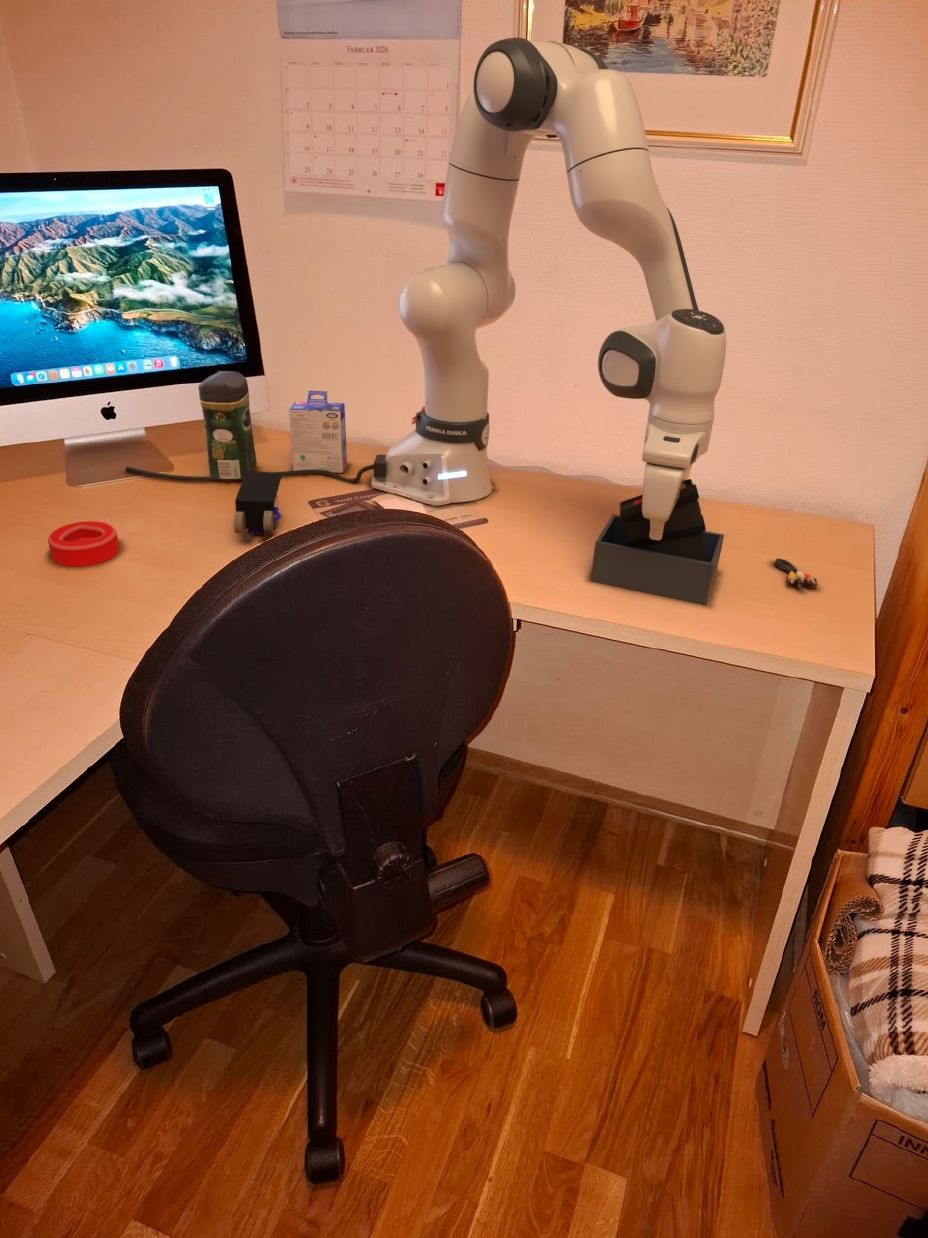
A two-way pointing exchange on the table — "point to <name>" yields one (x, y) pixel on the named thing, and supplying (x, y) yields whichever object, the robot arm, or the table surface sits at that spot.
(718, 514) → the table surface
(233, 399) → the coffee jar
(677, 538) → the magazine
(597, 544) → the box
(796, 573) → the composite cable
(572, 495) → the table surface
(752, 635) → the table surface
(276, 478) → the toy wheeled vehicle
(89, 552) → the decorative ornament
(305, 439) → the ink cartridge box
